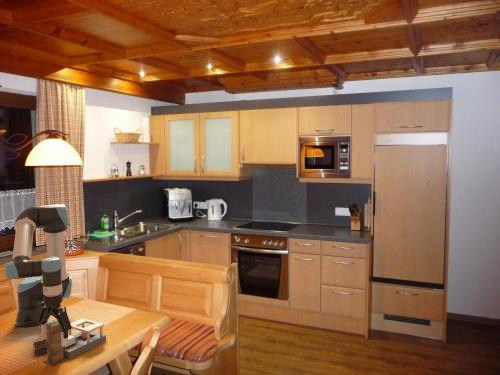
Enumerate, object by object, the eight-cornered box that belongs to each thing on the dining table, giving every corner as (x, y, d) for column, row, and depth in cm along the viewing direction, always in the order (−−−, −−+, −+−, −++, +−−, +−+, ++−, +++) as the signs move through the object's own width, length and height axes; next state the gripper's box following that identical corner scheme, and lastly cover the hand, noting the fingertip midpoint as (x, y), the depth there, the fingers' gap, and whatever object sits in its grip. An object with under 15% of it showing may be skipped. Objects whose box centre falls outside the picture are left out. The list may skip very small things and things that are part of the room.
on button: (59, 345, 188) (59, 339, 188) (69, 341, 192) (68, 335, 192) (65, 347, 186) (64, 341, 186) (74, 343, 190) (74, 336, 190)
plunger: (80, 339, 197) (79, 331, 197) (86, 337, 200) (86, 328, 200) (85, 341, 195) (84, 333, 195) (91, 338, 199) (91, 330, 198)
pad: (43, 361, 180) (43, 361, 180) (57, 355, 186) (57, 354, 186) (53, 365, 176) (53, 364, 176) (68, 358, 182) (68, 358, 182)
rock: (35, 357, 184) (34, 349, 184) (32, 348, 193) (32, 341, 193) (62, 351, 190) (61, 343, 190) (58, 342, 199) (58, 335, 199)
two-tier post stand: (49, 351, 190) (48, 332, 189) (86, 334, 207) (85, 317, 206) (70, 358, 182) (69, 339, 182) (106, 341, 199) (106, 323, 199)
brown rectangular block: (47, 360, 180) (46, 324, 179) (57, 356, 184) (55, 321, 183) (54, 363, 178) (52, 326, 177) (63, 358, 182) (62, 322, 181)
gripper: (27, 292, 182) (29, 339, 183) (63, 301, 169) (65, 351, 171) (43, 287, 188) (45, 332, 190) (79, 296, 176) (81, 344, 177)
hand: (54, 341), depth 180 cm, fingers open, 13 cm apart
